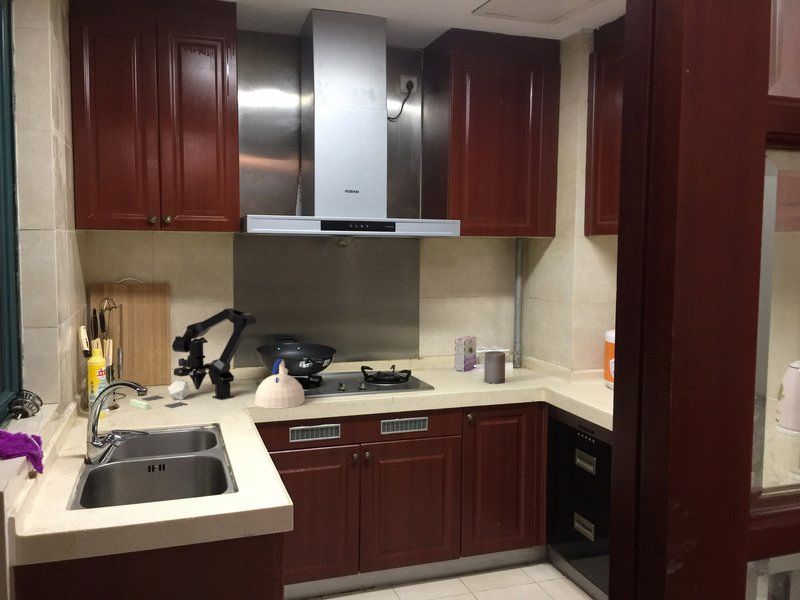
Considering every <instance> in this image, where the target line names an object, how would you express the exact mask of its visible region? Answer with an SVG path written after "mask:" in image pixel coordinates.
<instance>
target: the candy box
mask: <svg viewBox="0 0 800 600" xmlns="http://www.w3.org/2000/svg"><path fill="white" fill-rule="evenodd" d="M474 365H476V366H477V336H473V335H472V336H470V335H469V336H468V335H465V336H463V337H459V338H456V339H454V372H455V371H456V372H463V373H464V372H468V371H469V370H473V369H475V368H474Z"/></svg>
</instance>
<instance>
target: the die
mask: <svg viewBox="0 0 800 600" xmlns="http://www.w3.org/2000/svg"><path fill="white" fill-rule="evenodd" d="M167 390H168V392H169V394H170V397H171V398H172V400H176V401H177V400H178V401H183V400H184V399H185V398H186V397H187V396H188V395H189V394H190V393H191V392H192V391H191V388H190V386H189V384H188V381H187V380H185V379H184V380H183V379H182V380H181V379H176V380H175V381H173V382H172V383H171V384H170V385H169V386H168V387H167Z"/></svg>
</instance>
